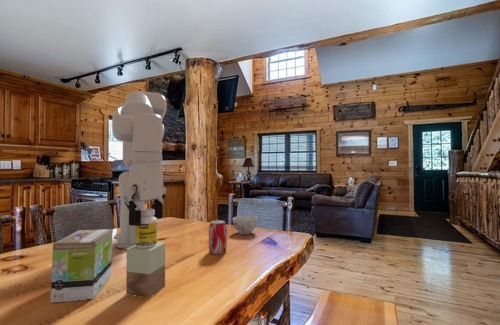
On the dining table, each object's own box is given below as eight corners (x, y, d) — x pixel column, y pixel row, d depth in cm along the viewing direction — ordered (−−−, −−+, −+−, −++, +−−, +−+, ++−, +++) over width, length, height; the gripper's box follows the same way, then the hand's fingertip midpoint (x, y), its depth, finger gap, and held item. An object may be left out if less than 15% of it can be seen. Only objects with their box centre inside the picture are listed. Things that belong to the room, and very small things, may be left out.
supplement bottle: (136, 249, 69) (136, 211, 69) (134, 244, 73) (135, 208, 74) (158, 247, 71) (158, 210, 71) (155, 241, 76) (155, 207, 76)
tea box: (94, 300, 67) (95, 240, 67) (49, 304, 65) (50, 243, 65) (112, 276, 81) (113, 227, 82) (75, 278, 79) (76, 229, 80)
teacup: (229, 231, 138) (229, 216, 138) (251, 229, 143) (251, 214, 143) (239, 238, 124) (239, 221, 124) (263, 236, 129) (263, 219, 129)
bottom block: (126, 294, 70) (126, 271, 70) (143, 283, 76) (143, 262, 76) (149, 298, 68) (149, 274, 68) (165, 286, 75) (165, 264, 75)
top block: (126, 271, 70) (126, 248, 70) (143, 262, 76) (143, 241, 77) (149, 274, 68) (149, 250, 68) (165, 264, 75) (165, 243, 75)
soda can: (223, 255, 100) (223, 223, 100) (205, 254, 102) (206, 222, 102) (228, 250, 107) (229, 220, 107) (212, 248, 108) (212, 219, 109)
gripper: (154, 159, 82) (153, 214, 82) (112, 158, 65) (111, 227, 65) (176, 159, 80) (175, 216, 80) (138, 158, 64) (137, 230, 64)
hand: (146, 221), depth 73 cm, fingers open, 9 cm apart
